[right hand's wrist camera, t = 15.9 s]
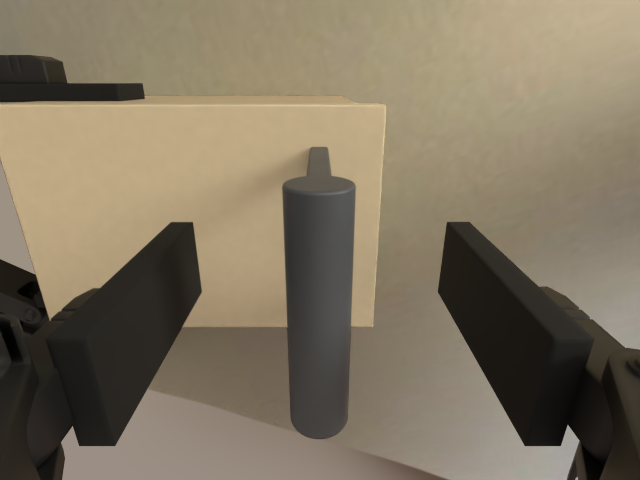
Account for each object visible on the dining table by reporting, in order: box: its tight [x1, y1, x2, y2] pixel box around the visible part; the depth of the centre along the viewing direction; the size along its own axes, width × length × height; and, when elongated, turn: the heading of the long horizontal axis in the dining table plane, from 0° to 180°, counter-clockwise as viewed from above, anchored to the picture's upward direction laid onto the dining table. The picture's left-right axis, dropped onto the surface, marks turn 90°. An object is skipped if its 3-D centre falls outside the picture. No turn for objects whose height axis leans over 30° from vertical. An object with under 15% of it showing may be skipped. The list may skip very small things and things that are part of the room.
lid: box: [0, 103, 386, 439], centre depth 13 cm, size 15×10×8 cm, turn 90°
